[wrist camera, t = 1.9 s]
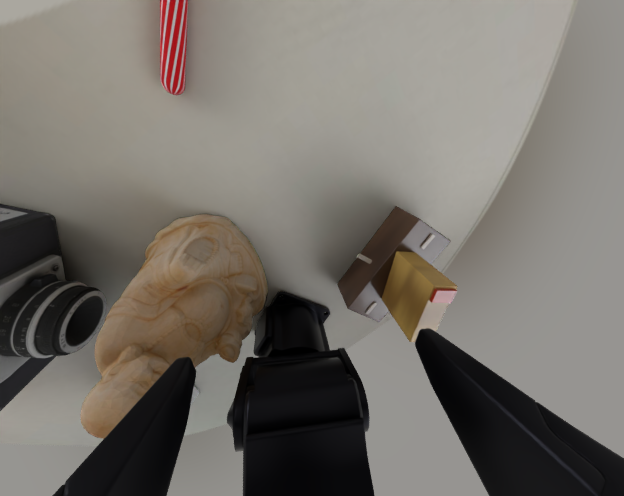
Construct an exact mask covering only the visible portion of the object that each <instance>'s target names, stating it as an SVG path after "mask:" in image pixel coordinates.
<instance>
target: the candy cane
mask: <svg viewBox="0 0 624 496" xmlns="http://www.w3.org/2000/svg"><path fill="white" fill-rule="evenodd" d="M187 13H188V0H160V80H161V83H162V86H163V87H164V88H165V90H166V91H168V92H169V93H171V94H173V95H180V94H181V93H183V91H184V89H185V71H186V43H187Z"/></svg>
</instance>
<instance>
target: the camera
mask: <svg viewBox="0 0 624 496" xmlns="http://www.w3.org/2000/svg"><path fill="white" fill-rule="evenodd" d="M105 311H106V297H105V296H104V294H103V293H102V292H101V291H100V290H98V289H97V288H93V287H88V286H87V285H85V284H83V283H80V282H78V281H66V280H65V274H64V268H63V262H62V256H61V250H60V245H59V239H58V233H57V227H56V222H55V218H54V216H52V215H50V214H47V213H41V212H36V211H31V210H27V209H22V208H17V207H12V206H7V205H2V204H0V411H1V410H2V409H3V408H4V407H5V406H6V405H7V404H8V403H9V402H10V401H11V400H12V399H13V398H14V397H15V396H16V395H17V394H18V393H19V392H20V391H21V390H22V389H23V388H24V387H25V386H26V385H27V384H28V383H29V382H30V381H31V380H32V379H33V378H34V377H35V376H36V375H37V374H38V373H39V372H40V371H41V370H42V369H43V368H44V367H45V366H47V365H48V364H49V363H50V362H51V361H52V360H53V359H54V358H55V357H56V356H61V355H68V354H70V353H73V352H76V351H77V350H79V349H81V348H82V347H83V346H85V345H86V344H87V343H88V342H89V341H90V340H91V339H92V337H93V336H94V335H95V333H96V332H97V330H98V329H99V327H100V325H101V323H102V320H103V317H104V314H105Z"/></svg>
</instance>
